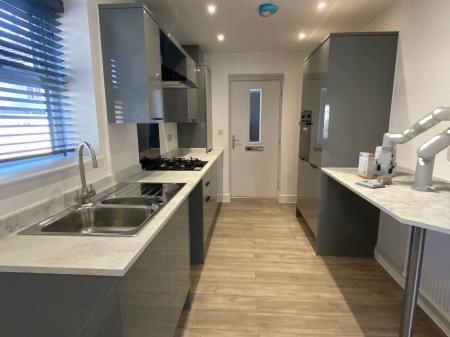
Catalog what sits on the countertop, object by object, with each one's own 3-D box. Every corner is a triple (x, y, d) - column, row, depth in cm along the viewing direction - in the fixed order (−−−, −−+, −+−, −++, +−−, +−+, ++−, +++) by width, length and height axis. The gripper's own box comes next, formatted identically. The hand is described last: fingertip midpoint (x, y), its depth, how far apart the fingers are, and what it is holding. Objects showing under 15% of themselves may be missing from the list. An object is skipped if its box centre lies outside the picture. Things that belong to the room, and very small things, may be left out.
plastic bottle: (383, 177, 219) (387, 144, 214) (369, 174, 234) (372, 143, 229) (397, 176, 223) (401, 144, 218) (382, 173, 238) (386, 142, 232)
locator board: (385, 187, 186) (386, 183, 186) (371, 188, 182) (372, 185, 182) (368, 182, 200) (368, 179, 200) (355, 184, 196) (355, 180, 196)
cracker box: (372, 179, 212) (375, 154, 208) (365, 179, 212) (368, 154, 208) (364, 175, 226) (366, 152, 222) (357, 175, 226) (359, 152, 222)
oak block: (391, 184, 195) (392, 176, 194) (382, 185, 192) (383, 177, 191) (385, 183, 199) (386, 175, 198) (376, 184, 196) (377, 176, 195)
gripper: (402, 151, 184) (398, 174, 188) (380, 148, 200) (377, 169, 204) (394, 151, 182) (390, 175, 186) (373, 148, 198) (370, 170, 201)
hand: (383, 172), depth 195 cm, fingers open, 9 cm apart
